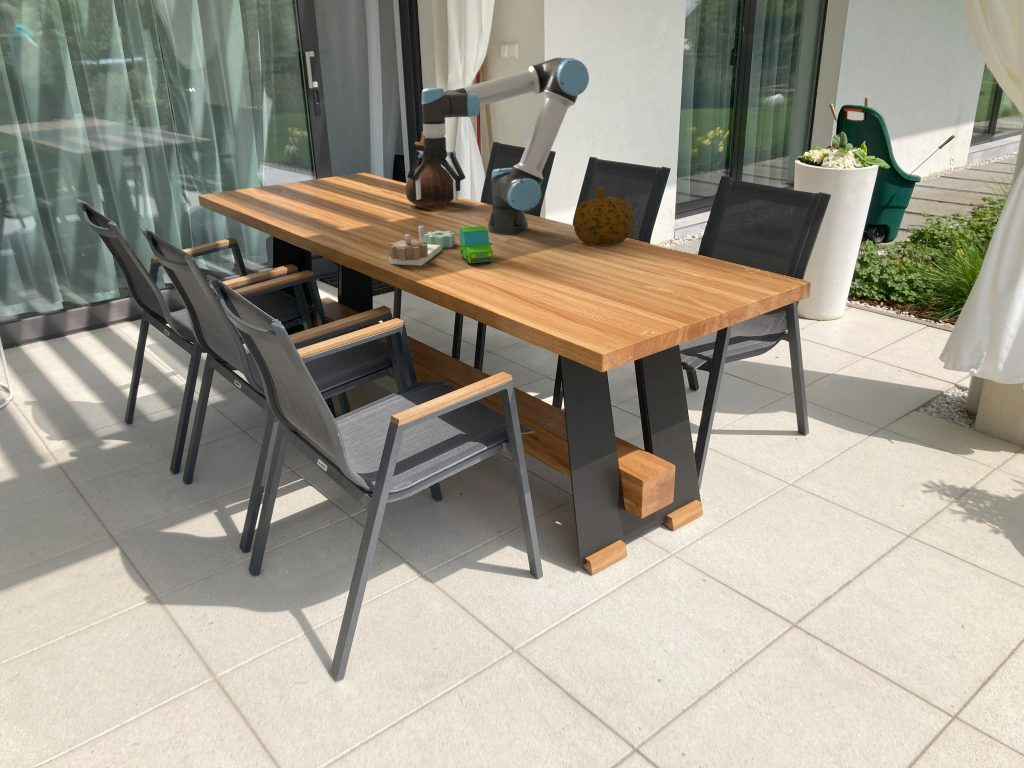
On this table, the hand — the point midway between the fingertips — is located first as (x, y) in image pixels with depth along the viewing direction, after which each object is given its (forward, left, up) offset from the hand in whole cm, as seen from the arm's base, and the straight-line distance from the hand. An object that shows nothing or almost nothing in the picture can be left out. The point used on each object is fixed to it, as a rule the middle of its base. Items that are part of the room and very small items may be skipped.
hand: (437, 199), depth 289 cm
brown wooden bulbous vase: (+26, -67, -16) cm, 73 cm away
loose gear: (0, 0, -16) cm, 16 cm away
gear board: (+2, +19, -16) cm, 25 cm away
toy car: (-19, +18, -16) cm, 31 cm away
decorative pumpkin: (-56, -15, -16) cm, 60 cm away
